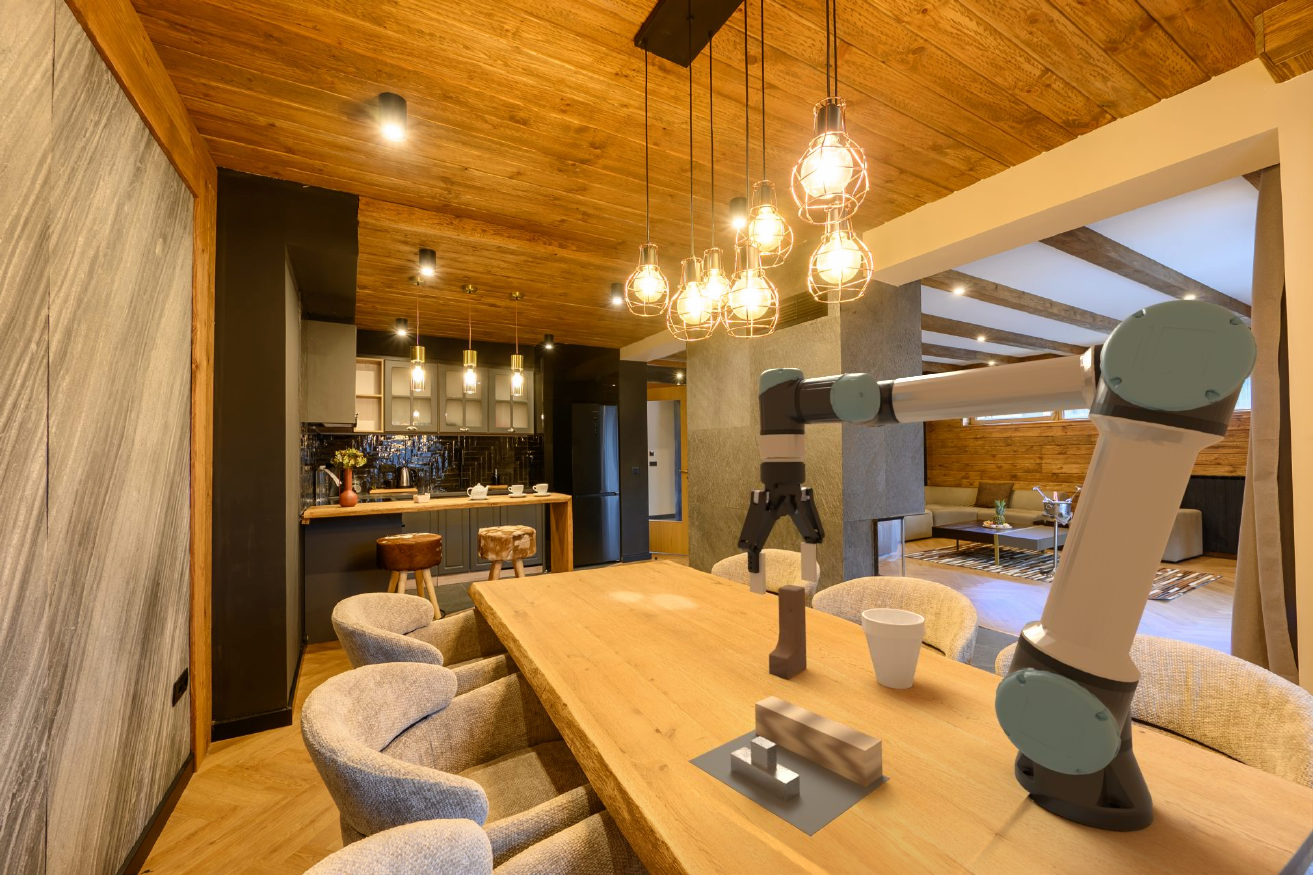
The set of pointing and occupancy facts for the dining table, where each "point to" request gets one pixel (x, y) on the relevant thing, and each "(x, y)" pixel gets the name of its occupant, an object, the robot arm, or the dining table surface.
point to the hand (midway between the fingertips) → (784, 586)
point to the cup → (894, 644)
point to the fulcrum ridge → (765, 769)
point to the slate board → (818, 785)
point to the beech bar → (820, 740)
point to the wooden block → (790, 634)
